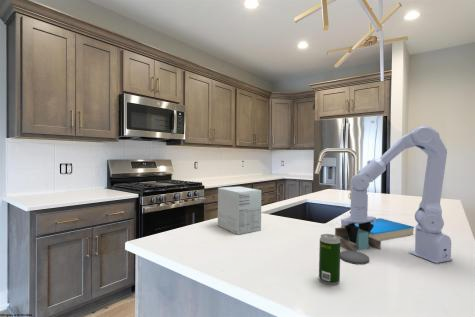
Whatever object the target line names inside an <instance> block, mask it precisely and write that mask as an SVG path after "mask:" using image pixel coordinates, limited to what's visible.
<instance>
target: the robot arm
mask: <svg viewBox="0 0 475 317" xmlns="http://www.w3.org/2000/svg"><path fill="white" fill-rule="evenodd" d="M413 147H417V148H418V149H420V150H421V151H423V153H425V154H426V156H427V159H426V167H425V174H424V175H425V176H424V182H423V190H422V195H421V196H422V198H421V201H420V202H419V205H418V209H417V210H416V211H415V214H414V220H415V222H416V223H417V225H416V226H415V236H414V238H415V239H414V240H415V241H414V250H410V251H408V254H411V255H413V256H416V257H419V258H422V259H425V260H426V261H429V262H432V263H434V264H439V263H445V262H450V261H453V258H452V239H451V237H450V236H449V235H447V234H444V233H443V232H442V229H443V228H444V226H445V222H444V219H443V216H442V214H443V210H442V206H441V200H442V199H441V198H442V192H443V184H444V177H445V170H446V163H447V156H448V150H447V148H446V145H445V144H444V142H443V141H442V139H441V136H440V133H439V132H438V131H436V129H434V128H432V127H431V126H428V125H421V126H419V127H416V128H412V129H411V130H410V131H409V132H408V133H406V134H404V135H402V136H401V138H399V139H398V140H397V141H396V142H394V144H393V145H392V146H391V147H389V148H388V150H387V151H385V152H384V153H383V154H382V155H381V156H380V157H378V158H372V159H368V161H367V162H366V165H365V166H363V167H362V168H361V169H359V170H357V173H358V174H355V175H353V176H352V177H351V179H350V184H351V190H350V191H351V193H350V215H349V216H348V217H346V218H341V220H340V224H341V226H342V225H344V227H345V228H346V230H347V233H348V236H349V240H350V242H353V243H355V244H356V237H357V232H358V229H359V228H360V229H361V230H364V231H367V232H369V233H370V231H371V230H372V228H373V227H374V225H373V224H371V222H373V223H376V219H377V218H376V217H375V216H372V215H371V216H368V204H369V203H368V201H369V199H368V198H369V197H368V195H369V194H368V188H369V186H370V183H373V182H374V181H375V180H377V178H378V177H380V176H381V175H382V174H383V173H384V172H385V171H386V170H387V165H388V164H389V163H390V162H391V161H393V160H394V159H395V158H396V157H398V155H399V154H401V153H402V152H403V151H404V150H407V149H410V148H413ZM355 224H359V227H357V226H356V225H355ZM368 236H369V235H368Z"/></svg>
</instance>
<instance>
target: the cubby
mask: <svg viewBox="0 0 475 317" xmlns="http://www.w3.org/2000/svg"><path fill="white" fill-rule="evenodd" d="M357 227H359V226H357ZM359 229H360V228H359ZM334 235H336V236H339V237H340V242H341V245H340V248H343V249H345V250H346V251H357V249H356V244H355V243H353V242H350V241H348V240H349V236H348V233H347V230H346V228H345V227H341V226H340V227H335V228H334ZM381 241H382V240H377V239H374V238H372V237H369V236H368V246H370V247H373V248H375V249H376V250H381V247H382V242H381Z"/></svg>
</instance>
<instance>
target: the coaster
mask: <svg viewBox="0 0 475 317" xmlns="http://www.w3.org/2000/svg"><path fill="white" fill-rule="evenodd" d="M340 260H341V261H344V262H346V263H349V264H354V265H366V264H369V263H370V256H369V255H368V254H366V253H363V252H360V251H357V250H356V251H350V250H340Z"/></svg>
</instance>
